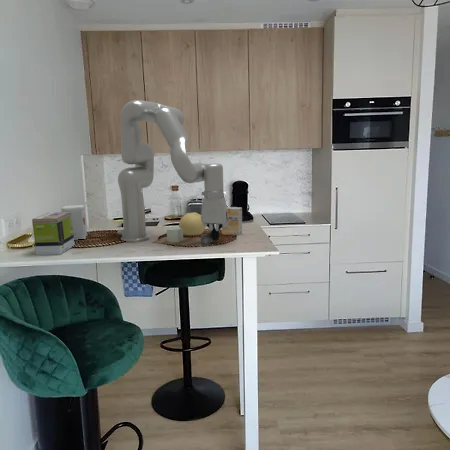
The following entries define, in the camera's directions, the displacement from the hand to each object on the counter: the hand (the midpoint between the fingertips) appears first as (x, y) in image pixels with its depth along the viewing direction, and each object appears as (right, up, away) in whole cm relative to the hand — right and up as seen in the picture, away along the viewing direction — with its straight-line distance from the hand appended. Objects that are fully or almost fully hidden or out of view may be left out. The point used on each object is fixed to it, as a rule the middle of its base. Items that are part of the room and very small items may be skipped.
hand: (215, 239), depth 173 cm
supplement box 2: (+7, +1, +18) cm, 19 cm away
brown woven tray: (-13, -2, +5) cm, 14 cm away
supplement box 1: (-64, 0, +21) cm, 67 cm away
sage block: (-17, -1, +6) cm, 18 cm away
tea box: (-64, -5, -1) cm, 65 cm away
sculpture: (-11, +1, +21) cm, 24 cm away
